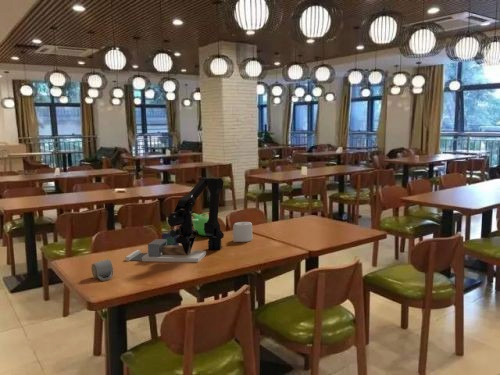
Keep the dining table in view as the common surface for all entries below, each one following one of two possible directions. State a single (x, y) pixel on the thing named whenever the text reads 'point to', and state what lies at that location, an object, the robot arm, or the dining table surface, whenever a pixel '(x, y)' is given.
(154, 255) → the tunnel
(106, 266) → the ceramic mug
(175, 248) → the walnut bar
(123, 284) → the dining table surface
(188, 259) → the platform
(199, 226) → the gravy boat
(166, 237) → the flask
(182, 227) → the robot arm
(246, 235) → the toilet tissue
